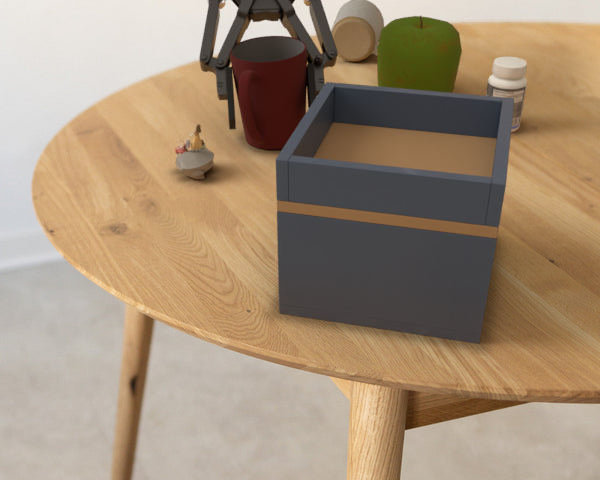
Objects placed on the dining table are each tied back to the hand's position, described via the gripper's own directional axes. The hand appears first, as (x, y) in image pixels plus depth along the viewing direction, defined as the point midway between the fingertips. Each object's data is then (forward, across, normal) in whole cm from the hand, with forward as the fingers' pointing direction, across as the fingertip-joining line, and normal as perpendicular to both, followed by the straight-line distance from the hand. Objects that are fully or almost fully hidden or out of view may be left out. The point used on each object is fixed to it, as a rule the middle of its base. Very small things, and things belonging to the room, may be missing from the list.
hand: (273, 122), depth 91 cm
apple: (-9, -21, -15) cm, 27 cm away
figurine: (+6, +9, 0) cm, 11 cm away
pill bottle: (-1, -29, -7) cm, 30 cm away
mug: (+1, 0, -5) cm, 5 cm away
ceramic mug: (-21, -16, -27) cm, 38 cm away
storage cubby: (+22, -9, +16) cm, 29 cm away
